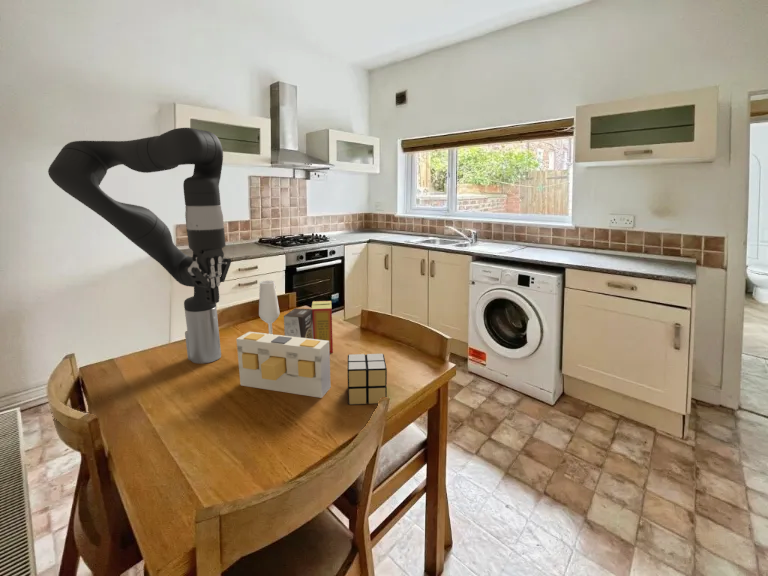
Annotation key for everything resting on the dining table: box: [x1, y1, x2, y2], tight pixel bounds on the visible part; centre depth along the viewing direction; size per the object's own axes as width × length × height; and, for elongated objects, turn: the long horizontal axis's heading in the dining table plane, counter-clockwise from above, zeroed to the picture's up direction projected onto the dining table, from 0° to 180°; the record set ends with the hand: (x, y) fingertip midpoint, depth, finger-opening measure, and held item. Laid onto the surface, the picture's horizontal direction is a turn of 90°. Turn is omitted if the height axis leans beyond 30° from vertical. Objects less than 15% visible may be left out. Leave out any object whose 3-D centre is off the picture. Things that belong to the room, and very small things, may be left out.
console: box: [236, 331, 331, 399], centre depth 114 cm, size 25×6×14 cm, turn 74°
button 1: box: [242, 352, 259, 370], centre depth 115 cm, size 4×6×4 cm
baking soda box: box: [311, 300, 334, 354], centre depth 142 cm, size 10×6×16 cm
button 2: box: [261, 356, 287, 381], centre depth 109 cm, size 4×6×4 cm
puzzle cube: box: [347, 353, 388, 406], centre depth 110 cm, size 10×10×10 cm
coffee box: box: [283, 307, 314, 339], centre depth 132 cm, size 9×6×16 cm
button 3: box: [298, 360, 316, 378], centre depth 111 cm, size 4×6×4 cm
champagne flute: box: [258, 280, 280, 334], centre depth 138 cm, size 7×7×24 cm
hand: (213, 302), depth 94 cm, fingers closed
